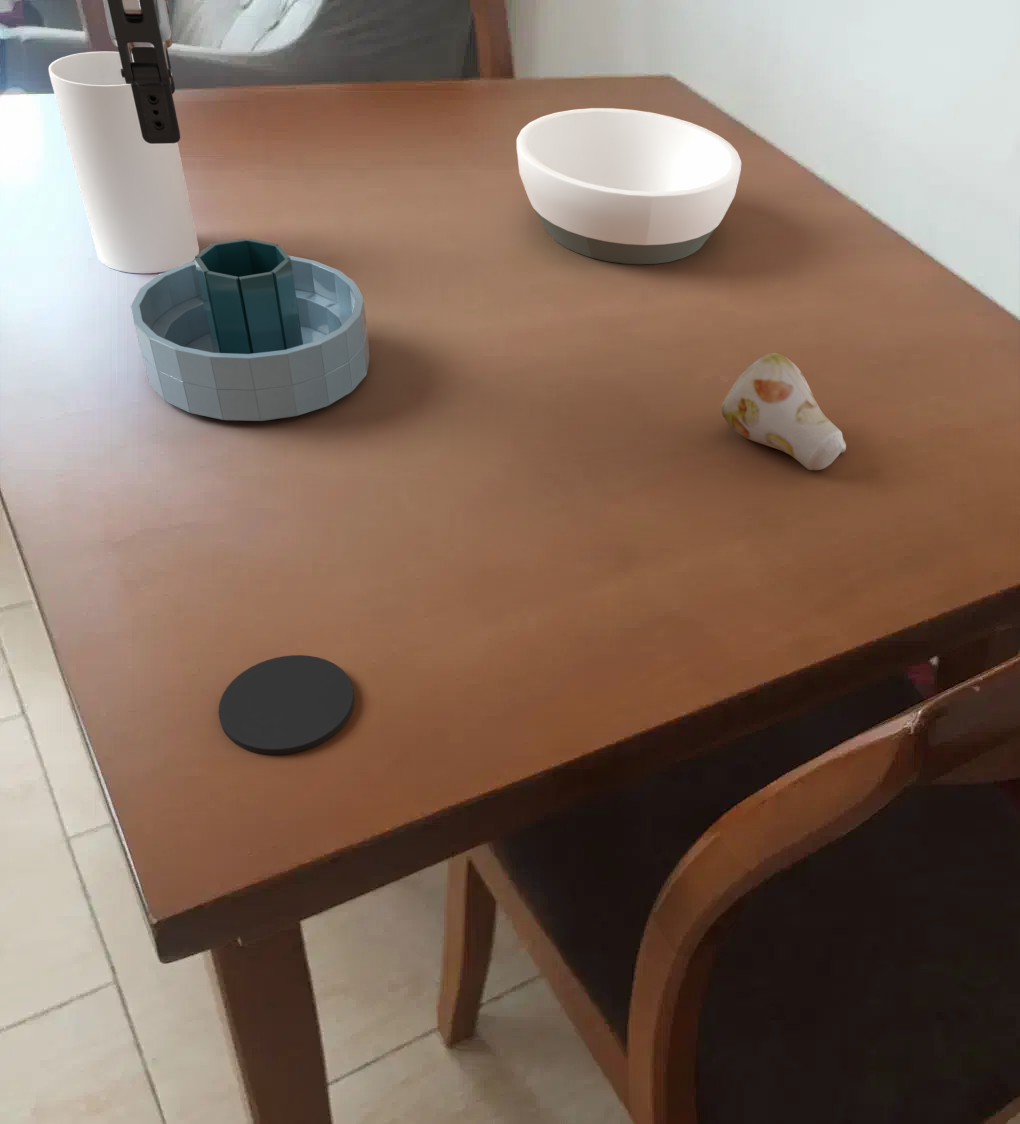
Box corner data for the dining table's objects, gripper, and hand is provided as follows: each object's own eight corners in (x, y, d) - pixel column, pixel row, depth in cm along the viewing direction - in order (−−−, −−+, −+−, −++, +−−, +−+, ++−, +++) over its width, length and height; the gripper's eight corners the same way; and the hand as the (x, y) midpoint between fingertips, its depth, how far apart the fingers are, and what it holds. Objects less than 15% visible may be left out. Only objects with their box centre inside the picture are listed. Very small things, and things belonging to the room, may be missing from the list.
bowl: (705, 184, 128) (713, 111, 123) (756, 277, 112) (767, 197, 107) (506, 180, 122) (505, 102, 117) (529, 278, 106) (529, 193, 101)
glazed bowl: (104, 402, 83) (83, 330, 79) (218, 304, 96) (205, 238, 92) (313, 445, 83) (302, 375, 79) (401, 341, 95) (396, 276, 91)
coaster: (194, 739, 62) (192, 733, 61) (259, 649, 67) (258, 643, 67) (320, 767, 61) (319, 761, 61) (375, 674, 67) (374, 669, 66)
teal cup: (203, 375, 86) (179, 267, 81) (243, 337, 91) (224, 233, 85) (280, 390, 86) (262, 284, 80) (317, 352, 91) (302, 248, 85)
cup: (208, 266, 100) (172, 82, 90) (106, 279, 96) (56, 89, 86) (188, 227, 105) (151, 49, 95) (90, 238, 101) (40, 53, 91)
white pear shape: (815, 500, 86) (768, 387, 81) (737, 484, 93) (690, 380, 88) (877, 448, 89) (836, 336, 84) (798, 436, 97) (755, 333, 92)
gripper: (32, -194, 68) (98, 80, 79) (20, -143, 59) (97, 160, 69) (168, -183, 71) (214, 79, 82) (177, -133, 62) (228, 157, 72)
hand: (160, 116), depth 75 cm, fingers open, 8 cm apart
